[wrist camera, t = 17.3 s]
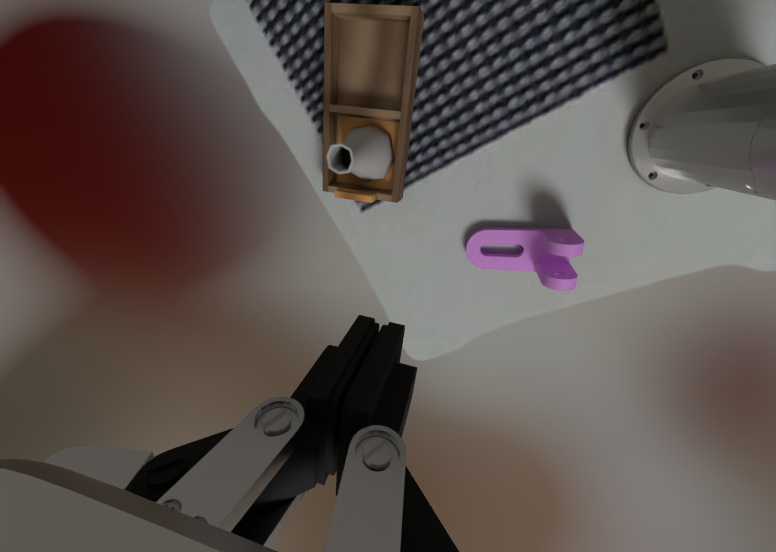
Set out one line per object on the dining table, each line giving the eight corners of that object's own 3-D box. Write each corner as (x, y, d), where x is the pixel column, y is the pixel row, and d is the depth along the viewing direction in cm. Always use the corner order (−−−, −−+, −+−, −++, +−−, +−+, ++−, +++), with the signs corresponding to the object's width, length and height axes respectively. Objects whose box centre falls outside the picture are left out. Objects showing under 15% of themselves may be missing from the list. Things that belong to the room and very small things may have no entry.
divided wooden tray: (424, 16, 36) (415, -3, 31) (402, 198, 44) (392, 206, 39) (336, 12, 38) (314, -6, 33) (332, 187, 46) (314, 193, 42)
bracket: (572, 228, 41) (588, 245, 34) (564, 268, 43) (578, 291, 37) (467, 226, 44) (465, 242, 38) (465, 264, 46) (463, 284, 40)
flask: (346, 119, 41) (309, 115, 32) (399, 128, 40) (376, 127, 31) (341, 176, 44) (307, 186, 36) (390, 186, 43) (367, 199, 34)
